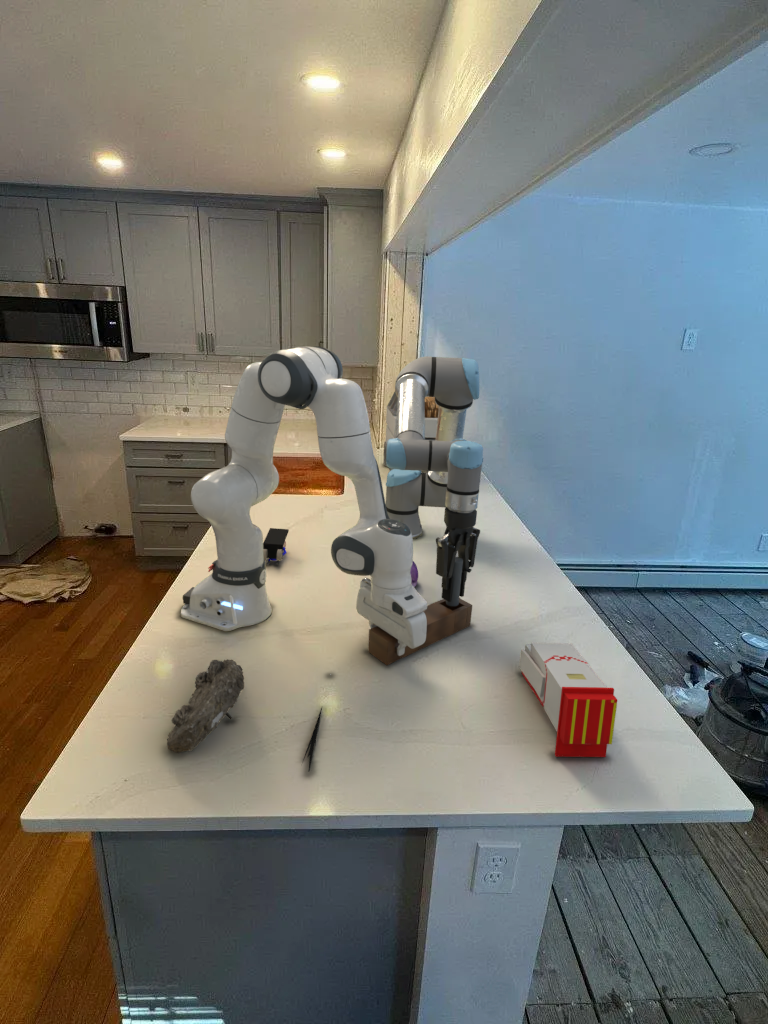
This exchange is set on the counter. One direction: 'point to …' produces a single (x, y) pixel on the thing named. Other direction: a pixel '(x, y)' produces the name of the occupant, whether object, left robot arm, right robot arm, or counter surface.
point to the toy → (570, 698)
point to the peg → (456, 581)
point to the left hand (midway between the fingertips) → (387, 645)
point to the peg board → (439, 626)
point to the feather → (313, 740)
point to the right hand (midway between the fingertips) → (452, 596)
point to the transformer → (430, 420)
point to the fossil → (206, 705)
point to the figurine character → (275, 545)
